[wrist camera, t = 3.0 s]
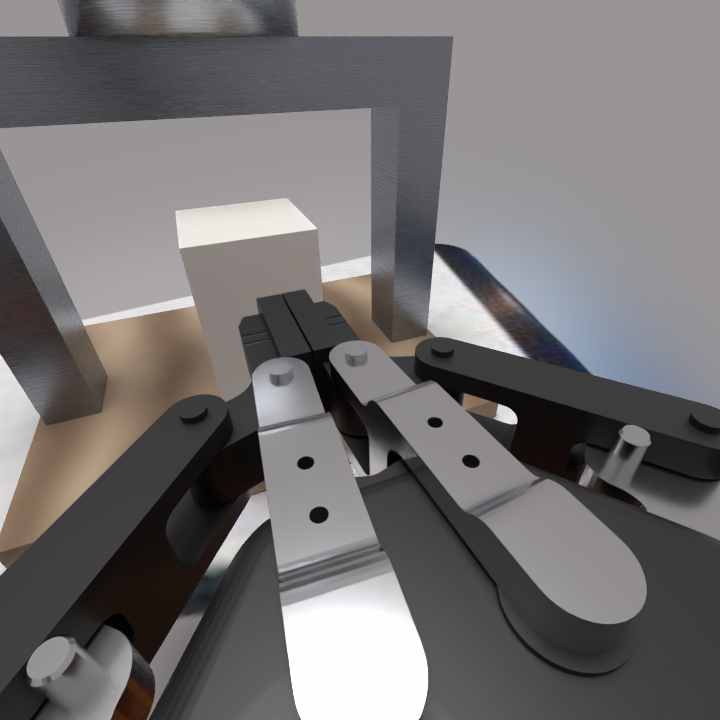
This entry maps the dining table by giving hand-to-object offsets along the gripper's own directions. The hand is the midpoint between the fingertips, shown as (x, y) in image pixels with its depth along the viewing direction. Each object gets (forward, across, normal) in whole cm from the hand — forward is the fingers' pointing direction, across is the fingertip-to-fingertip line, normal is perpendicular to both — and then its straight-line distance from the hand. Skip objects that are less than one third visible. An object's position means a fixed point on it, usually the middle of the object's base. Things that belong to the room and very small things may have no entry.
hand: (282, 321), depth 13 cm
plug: (+7, 0, +10) cm, 12 cm away
